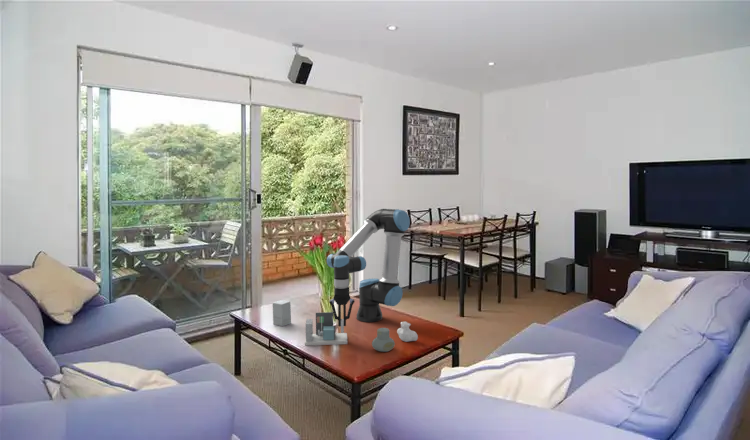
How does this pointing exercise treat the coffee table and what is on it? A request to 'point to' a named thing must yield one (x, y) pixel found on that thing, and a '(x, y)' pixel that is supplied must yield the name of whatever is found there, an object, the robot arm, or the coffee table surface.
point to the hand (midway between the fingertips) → (342, 332)
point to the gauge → (327, 332)
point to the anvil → (309, 330)
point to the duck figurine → (406, 333)
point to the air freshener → (383, 341)
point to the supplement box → (281, 313)
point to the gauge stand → (326, 321)
